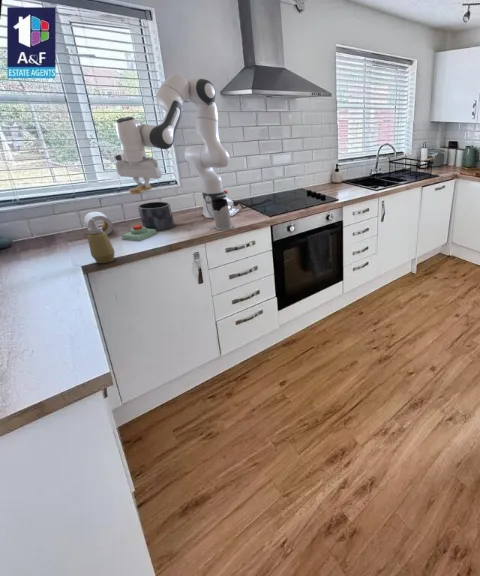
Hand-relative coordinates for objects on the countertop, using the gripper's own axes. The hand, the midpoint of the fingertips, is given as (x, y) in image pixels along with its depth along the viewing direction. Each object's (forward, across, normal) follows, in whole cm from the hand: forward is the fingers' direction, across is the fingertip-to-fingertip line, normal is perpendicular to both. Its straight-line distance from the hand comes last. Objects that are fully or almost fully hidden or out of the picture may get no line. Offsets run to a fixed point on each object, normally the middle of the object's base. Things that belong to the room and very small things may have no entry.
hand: (143, 187), depth 175 cm
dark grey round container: (+25, +8, -12) cm, 29 cm away
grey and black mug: (+25, -22, -21) cm, 39 cm away
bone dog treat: (+2, 0, +2) cm, 3 cm away
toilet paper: (+24, +28, +4) cm, 37 cm away
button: (+21, +7, +3) cm, 22 cm away
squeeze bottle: (+24, -3, +34) cm, 42 cm away
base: (+24, +7, +3) cm, 25 cm away
